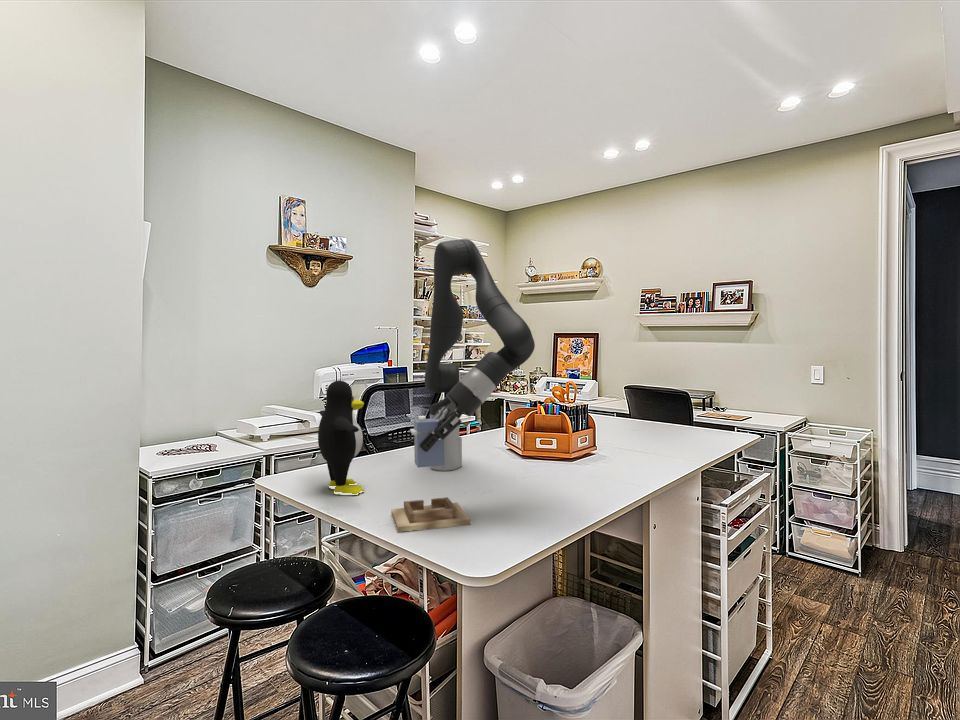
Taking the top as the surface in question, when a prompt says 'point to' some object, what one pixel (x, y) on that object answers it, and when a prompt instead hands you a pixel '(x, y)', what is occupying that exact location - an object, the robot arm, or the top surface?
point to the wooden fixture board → (429, 515)
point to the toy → (340, 435)
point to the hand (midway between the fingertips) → (420, 446)
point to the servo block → (420, 433)
